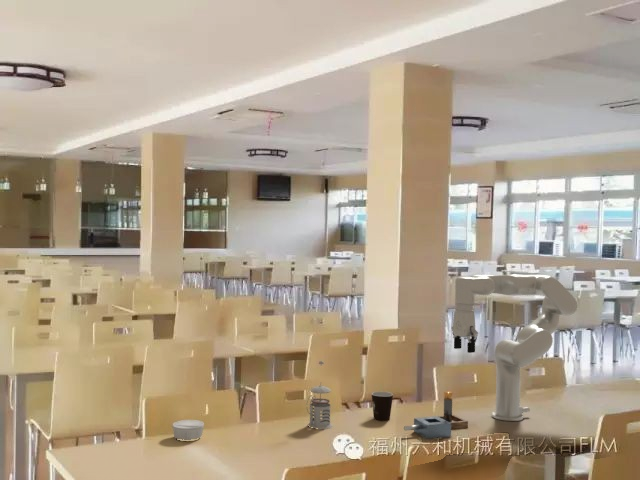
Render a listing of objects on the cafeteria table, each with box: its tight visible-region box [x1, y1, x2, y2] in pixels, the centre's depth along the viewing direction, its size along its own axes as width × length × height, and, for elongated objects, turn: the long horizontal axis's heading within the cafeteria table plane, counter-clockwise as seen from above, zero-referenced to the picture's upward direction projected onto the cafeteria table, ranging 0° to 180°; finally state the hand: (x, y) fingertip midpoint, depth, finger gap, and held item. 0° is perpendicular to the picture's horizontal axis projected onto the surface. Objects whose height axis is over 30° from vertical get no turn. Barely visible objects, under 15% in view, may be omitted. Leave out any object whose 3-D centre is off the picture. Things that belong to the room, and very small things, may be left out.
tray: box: [438, 414, 469, 430], centre depth 277 cm, size 12×10×2 cm
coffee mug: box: [371, 391, 394, 422], centre depth 285 cm, size 12×9×10 cm
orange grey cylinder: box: [443, 390, 453, 422], centre depth 277 cm, size 3×3×12 cm
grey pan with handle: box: [403, 415, 452, 440], centre depth 263 cm, size 16×10×5 cm, turn 111°
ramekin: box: [171, 419, 205, 440], centre depth 253 cm, size 11×11×5 cm
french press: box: [306, 360, 333, 430], centre depth 271 cm, size 10×12×25 cm
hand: (464, 350), depth 284 cm, fingers open, 9 cm apart
